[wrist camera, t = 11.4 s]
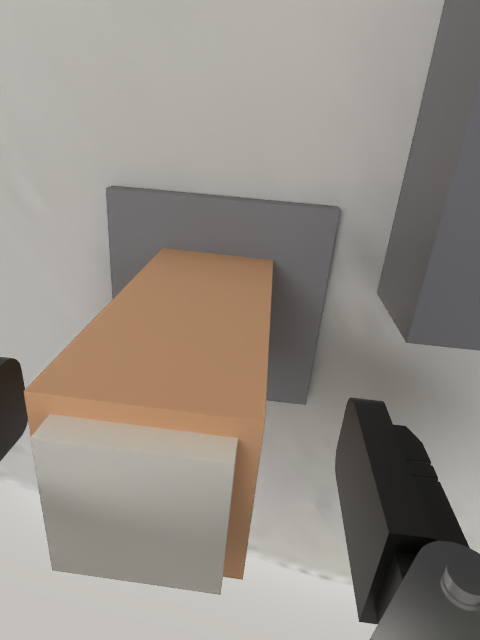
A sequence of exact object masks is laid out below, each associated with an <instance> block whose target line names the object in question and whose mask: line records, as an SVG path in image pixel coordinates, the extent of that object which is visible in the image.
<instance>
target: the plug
mask: <svg viewBox="0 0 480 640" xmlns="http://www.w3.org/2000/svg"><path fill="white" fill-rule="evenodd" d="M272 274H273V260H267V259H258V258H249V257H240V256H231V255H222V254H213V253H204V252H195V251H186V250H176V249H167V248H162V249H161V250H160V251H159V252H158V254H157V255H156V256H155V257H154V258H153V259H152V260H151V261H150V262H149V263H148V264H147V265H146V266H145V267H144V268H143V269H142V270H141V271H140V272H139V273H138V274H137V275H136V276H135V277H134V278H133V279H132V280H131V281H130V282H129V283H128V284H127V285H126V286H125V287H124V288H123V289H122V291H121V292H120V293H119V294H118V295H117V296H116V297H115V298H114V299H113V300H112V301H111V302H110V303H109V304H108V305H107V306H106V307H105V308H104V309H103V310H102V311H101V312H100V313H99V314H98V315H97V316H96V317H95V318H94V319H93V320H92V321H91V322H90V323H89V324H88V325H87V327H86V328H85V329H84V330H83V331H82V332H81V333H80V334H79V335H78V336H77V337H76V338H75V339H74V340H73V341H72V342H71V343H70V344H69V345H68V346H67V347H66V348H65V349H64V350H63V351H62V352H61V353H60V354H59V355H58V356H57V357H56V358H55V359H54V360H53V361H52V362H51V364H50V365H49V366H48V367H47V368H46V369H45V370H44V371H43V372H42V373H41V374H40V375H39V376H38V377H37V378H36V379H35V380H34V381H33V382H32V383H31V384H30V385H29V386H28V387H27V388H26V389H25V390H24V397H25V403H26V409H27V416H28V422H29V428H30V434H31V444H32V451H33V457H34V463H35V469H36V475H37V481H38V487H39V493H40V499H41V505H42V511H43V517H44V523H45V529H46V535H47V541H48V547H49V554H50V560H51V566H52V570H54V571H61V572H68V573H75V574H82V575H88V576H95V577H103V578H109V579H116V580H123V581H130V582H137V583H144V584H151V585H158V586H165V587H171V588H179V589H185V590H192V591H199V592H206V593H213V594H221V586H222V579H223V577H229V578H236V579H243V573H244V566H245V558H246V552H247V545H248V538H249V531H250V524H251V517H252V510H253V502H254V495H255V488H256V481H257V474H258V467H259V460H260V453H261V446H262V439H263V431H264V424H265V410H266V390H267V371H268V352H269V332H270V313H271V294H272Z"/></svg>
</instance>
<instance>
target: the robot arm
mask: <svg viewBox="0 0 480 640" xmlns="http://www.w3.org/2000/svg"><path fill="white" fill-rule="evenodd" d="M24 390H25V387H24V381H23V376H22V370H21V366H20V363H19V362H18V361H17V360H16V359H13V358H4V357H0V461H1V460H2V459H3V457H4V456H5V455H6V454H7V453H8V451H9V450H10V449H11V448H12V447H13V445H14V444H15V443H16V442H17V441H18V439H19V438H20V437H21V436H22V434H23V432H24V431H25V428H26V426H27V422H28V416H27V409H26V403H25V397H24ZM335 472H336V480H337V486H338V492H339V499H340V505H341V511H342V517H343V524H344V530H345V536H346V542H347V549H348V555H349V561H350V567H351V574H352V580H353V586H354V592H355V599H356V604H357V611H358V617H359V622H365V623H372V624H378V626H377V627H376V630H375V631H374V633H373V635H372V637H371V638H370V640H480V554H479V553H477V552H475V551H474V550H472V549H470V548H469V546H468V543H467V541H466V539H465V537H464V534H463V532H462V530H461V528H460V526H459V523H458V521H457V519H456V517H455V515H454V512H453V510H452V508H451V506H450V503H449V501H448V499H447V497H446V495H445V492H444V490H443V488H442V486H441V483H440V482H438V477H437V475H436V472H435V470H434V468H433V466H431V461H430V459H429V457H428V455H427V452H426V450H425V448H424V446H423V444H422V442H421V441H420V440H419V439H418V438H417V437H416V436H415V435H414V434H413V433H412V432H411V431H410V430H409V429H408V428H407V427H406V426H400V425H393V424H392V421H391V419H390V416H389V413H388V411H387V408H386V405H385V403H384V402H383V401H375V400H366V399H358V398H350V399H349V400H348V402H347V406H346V410H345V414H344V419H343V423H342V428H341V432H340V436H339V441H338V445H337V450H336V460H335Z"/></svg>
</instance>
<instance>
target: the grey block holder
mask: <svg viewBox="0 0 480 640" xmlns="http://www.w3.org/2000/svg"><path fill="white" fill-rule="evenodd" d="M377 293H378V295H379V297H380V299H381V300H382V302H383V304H384V305H385V307H386V309H387V310H388V312H389V314H390V316H391V317H392V319H393V321H394V322H395V324H396V326H397V327H398V329H399V331H400V333H401V334H402V336H403V338H404V339H405V341H406V343H414V344H424V345H433V346H442V347H452V348H461V349H471V350H480V0H445V3H444V8H443V12H442V16H441V20H440V25H439V29H438V33H437V38H436V42H435V46H434V51H433V55H432V59H431V63H430V68H429V72H428V76H427V81H426V85H425V89H424V94H423V98H422V102H421V106H420V111H419V115H418V119H417V124H416V128H415V132H414V137H413V141H412V145H411V149H410V154H409V158H408V162H407V167H406V171H405V175H404V180H403V184H402V188H401V192H400V197H399V201H398V205H397V210H396V214H395V218H394V223H393V227H392V231H391V235H390V240H389V244H388V248H387V253H386V257H385V261H384V265H383V270H382V274H381V278H380V283H379V287H378V291H377Z"/></svg>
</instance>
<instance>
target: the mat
mask: <svg viewBox="0 0 480 640" xmlns="http://www.w3.org/2000/svg"><path fill="white" fill-rule="evenodd" d="M106 196H107V213H108V230H109V247H110V263H111V280H112V297H113V299H114V298H115V297H116V296H117V295H118V294H119V293H120V292H121V291H122V289H123V288H124V287H125V286H126V285H127V284H128V283H129V282H130V281H131V280H132V279H133V278H134V277H135V276H136V275H137V274H138V273H139V272H140V271H141V270H142V269H143V268H144V267H145V266H146V265H147V264H148V263H149V262H150V261H151V260H152V259H153V258H154V257H155V256H156V255H157V254H158V252H159V251H160V250H161V249H162V248H167V249H176V250H186V251H195V252H204V253H213V254H222V255H231V256H240V257H249V258H258V259H267V260H273V274H272V294H271V313H270V332H269V352H268V371H267V390H266V400H269V401H278V402H287V403H295V404H304V405H306V401H307V395H308V389H309V384H310V378H311V372H312V366H313V361H314V355H315V349H316V344H317V338H318V332H319V327H320V321H321V315H322V309H323V304H324V298H325V292H326V287H327V281H328V275H329V270H330V264H331V258H332V252H333V247H334V241H335V235H336V230H337V224H338V218H339V213H340V209H339V208H338V207H336V206H325V205H314V204H303V203H293V202H282V201H271V200H260V199H249V198H238V197H228V196H217V195H206V194H195V193H184V192H173V191H162V190H152V189H141V188H130V187H119V186H111V187H108V188H106Z"/></svg>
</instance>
